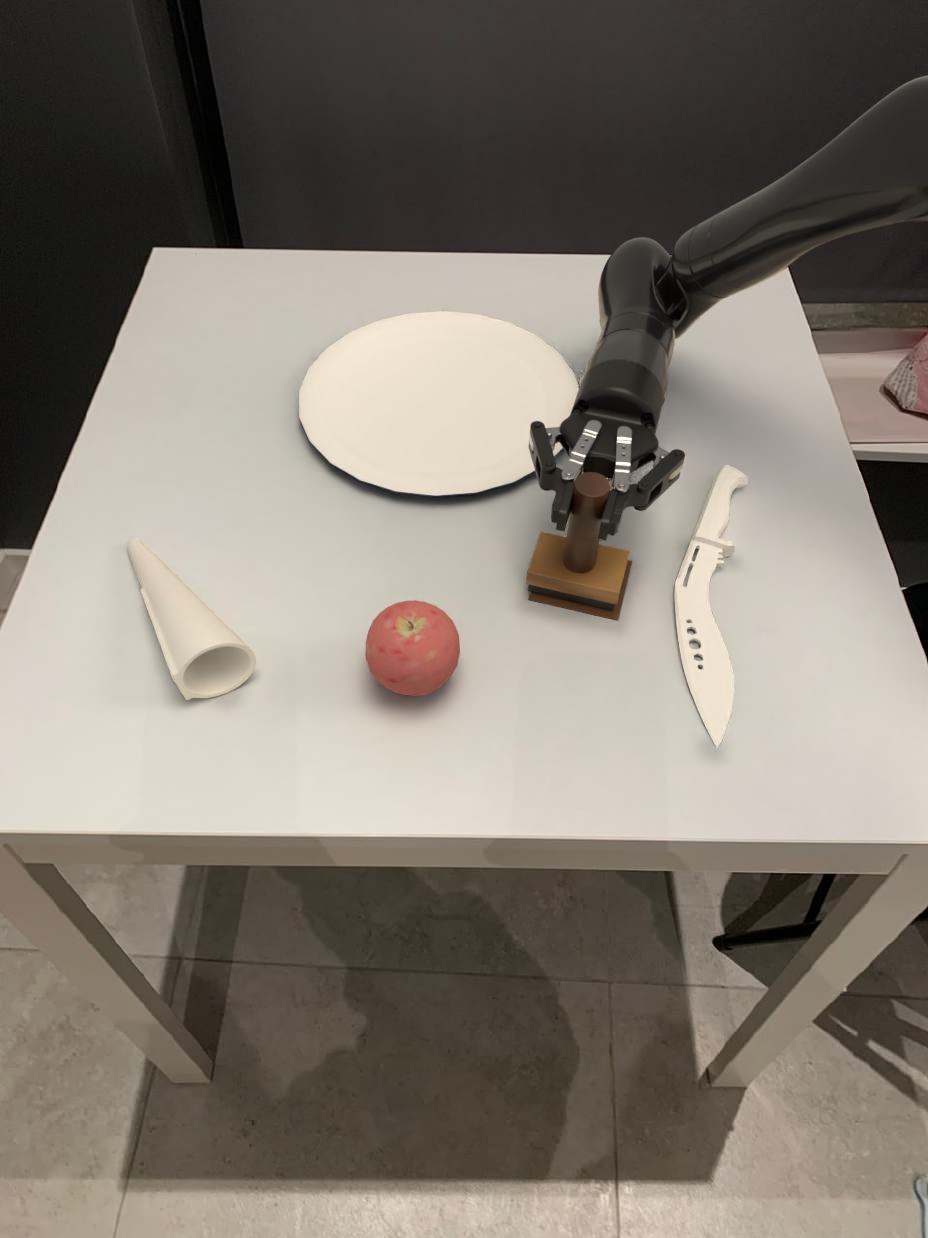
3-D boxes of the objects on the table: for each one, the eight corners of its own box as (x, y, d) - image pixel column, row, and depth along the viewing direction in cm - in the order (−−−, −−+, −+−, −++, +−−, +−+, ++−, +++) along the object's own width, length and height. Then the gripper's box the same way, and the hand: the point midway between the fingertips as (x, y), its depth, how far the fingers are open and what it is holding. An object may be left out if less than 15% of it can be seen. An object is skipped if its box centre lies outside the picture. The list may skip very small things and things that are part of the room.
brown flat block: (632, 561, 84) (632, 560, 84) (618, 620, 80) (618, 619, 80) (546, 542, 86) (546, 542, 86) (528, 599, 82) (528, 599, 82)
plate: (355, 303, 108) (354, 290, 107) (603, 347, 103) (605, 334, 102) (254, 472, 91) (251, 459, 90) (546, 533, 86) (547, 520, 85)
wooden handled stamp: (625, 571, 84) (648, 473, 74) (614, 613, 81) (637, 516, 71) (538, 551, 85) (550, 452, 75) (525, 592, 82) (535, 494, 72)
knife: (722, 744, 72) (626, 709, 74) (717, 754, 73) (623, 719, 75) (801, 483, 88) (720, 459, 90) (796, 495, 89) (716, 471, 91)
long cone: (200, 536, 88) (265, 675, 76) (135, 563, 87) (191, 710, 75) (178, 491, 84) (243, 631, 72) (109, 519, 82) (164, 667, 70)
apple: (444, 724, 74) (444, 667, 68) (357, 702, 75) (348, 644, 69) (469, 651, 78) (471, 591, 72) (386, 631, 79) (380, 571, 73)
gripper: (548, 342, 81) (497, 475, 71) (709, 372, 79) (680, 513, 69) (542, 410, 87) (494, 541, 77) (691, 440, 85) (662, 579, 75)
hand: (582, 527), depth 73 cm, fingers closed on wooden handled stamp, 3 cm apart
